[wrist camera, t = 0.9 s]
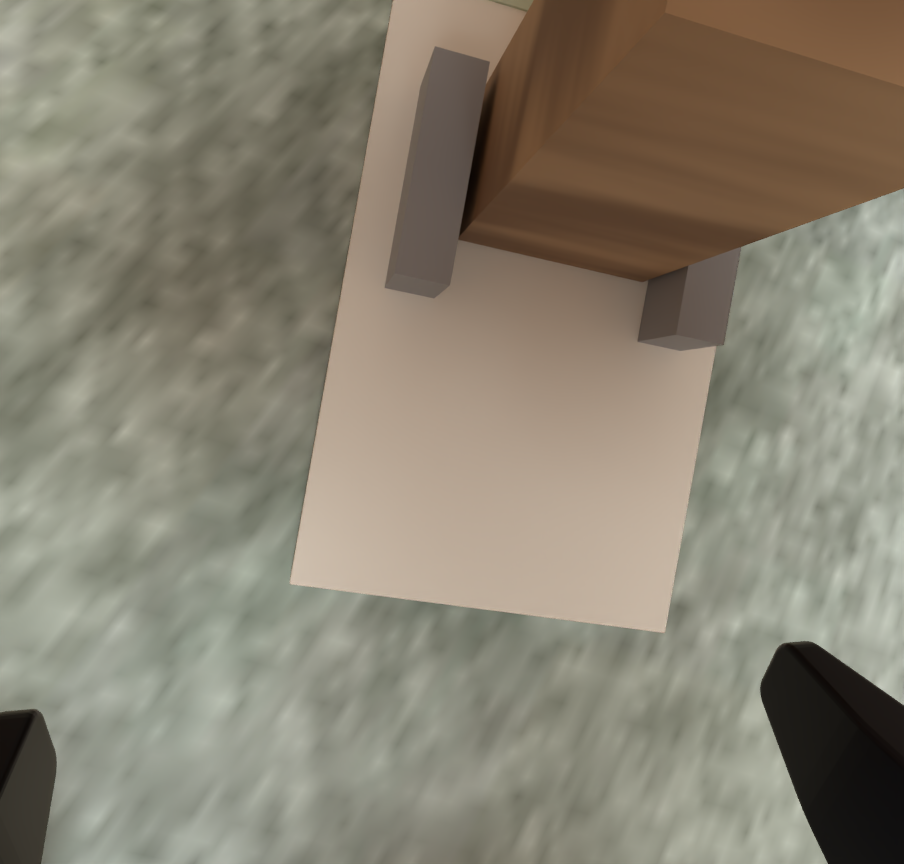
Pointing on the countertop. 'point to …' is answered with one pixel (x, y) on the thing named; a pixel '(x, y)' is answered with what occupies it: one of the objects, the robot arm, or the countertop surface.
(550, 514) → the pink base plate
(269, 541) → the countertop surface
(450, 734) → the countertop surface
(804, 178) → the walnut block
